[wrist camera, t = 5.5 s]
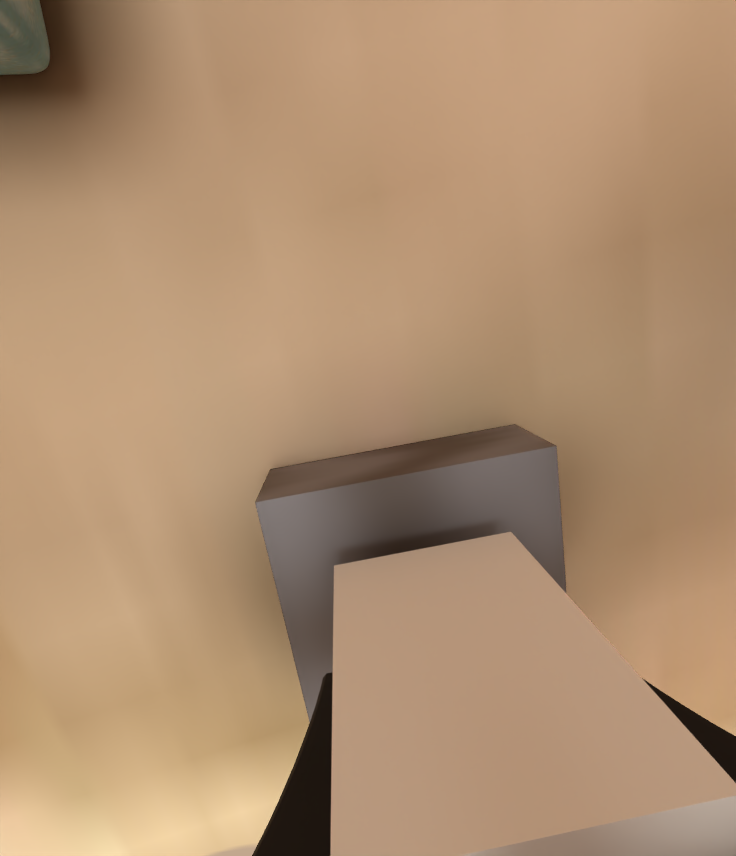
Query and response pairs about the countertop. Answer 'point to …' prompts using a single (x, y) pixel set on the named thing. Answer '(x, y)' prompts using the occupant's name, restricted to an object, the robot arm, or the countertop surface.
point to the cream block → (502, 720)
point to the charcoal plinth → (400, 519)
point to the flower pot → (22, 38)
